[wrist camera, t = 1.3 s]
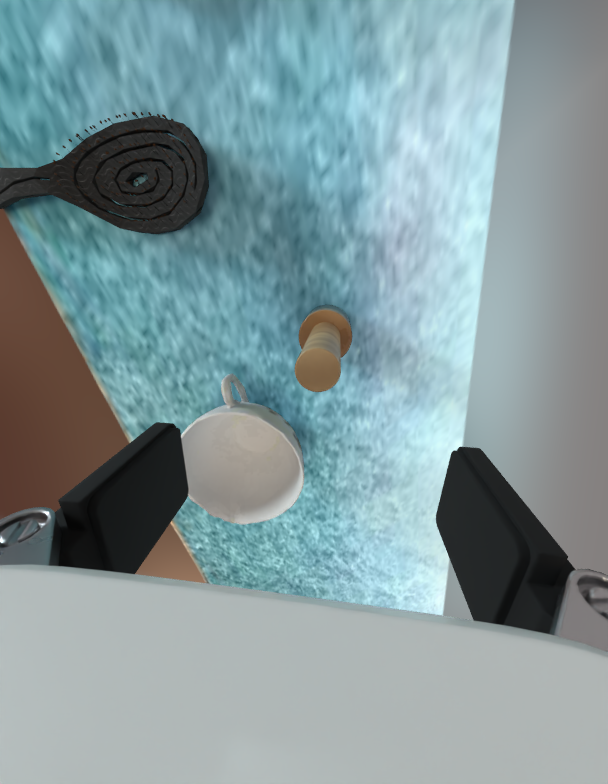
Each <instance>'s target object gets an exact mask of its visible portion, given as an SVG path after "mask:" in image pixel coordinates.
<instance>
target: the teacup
mask: <svg viewBox="0 0 608 784" xmlns="http://www.w3.org/2000/svg"><path fill="white" fill-rule="evenodd" d="M231 381H232V382H233V383H234V385H235V386H236V388H237V390H238V393H239V394H240V396H241V399H242V401H241V402H239V401H237V400H234V398H233V395H232V391H231ZM221 392H222V395H223V399H224V402H225V403H226V405H223V406H220V407H217V408H215V409H213V410H211V411H209V412H207V413H205V414H204V415H202V416H200V417H199V418H198V419H196V420H195V421H194V422H193V423H192V424H190V425H189V426H188V427H187V428H186V430H185V431H184V432H183V434H182V435H181V440H182V447H183V454H184V460H185V467H186V474H187V481H188V488H189V492H188V496H189V497H190V499H191V500H192V501H193V502H195V503H197V504H199V506H200V507H202V508H203V509H205V510H206V511H207V512H208V513H209V514H210V515H212V516H214V517H220V518H221V519H223V520H224V521H228V522H231V523H239V524H248V523H256V522H262V521H266V520H269V519H272V518H275V517H277V516H279V515H280V514H282V513H284V512H285V511H286V510H287V509H289V508H290V507H292V506H293V505H294V503H295V502H296V500H297V499H298V497H299V495H300V493H301V490H302V488H303V484H304V462H303V454H302V450H301V446H300V443H299V440H298V438H297V436H296V434H295V432H294V430H293V429H292V427H291V426H290V425H289V424H288V422H287V421H286V420H285V419H284V418H283V417H282V416H280V415H279V414H278V413H277V412H275V411H273V410H272V409H270V408H268V407H265V406H263V405H260V404H255V403H250V402H249V401H248V398H247V395H246V391H245V388H244V386H243V385H242V383H241V382H240V381H239V380H238V379H237V377H236V376H235V375H234V374H229V375H227V376H226V377H225V378H223V379H222V384H221Z"/></svg>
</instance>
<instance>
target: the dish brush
mask: <svg viewBox="0 0 608 784" xmlns="http://www.w3.org/2000/svg"><path fill="white" fill-rule="evenodd" d="M351 342H352V331H351V326H350V321H349V319H348V317H347V315H346V313H345V312H344V311H343V310H341V309H340V308H338V307H336V306H333V305H322V306H319V307H317V308H315V309H314V310H312V311H311V312H310V314H309V315H308V316H307V317H306V319H305V320H304V321H303V323H302V325H301V327H300V330H299V343H300V346H301V348H302V351H301V353H300V355H299V357H298V359H297V361H296V364H295V375H296V378H297V380H298V382H299V383H300V384H301V385H302V386H303V387H304V388H306V389H308V390H310V391H314V392H322V391H326V390H328V389H330V388H332V387H333V386H334V385H335V384H336V383H337V381H338V380H339V377H340V373H341V358H342V357H343V356H344V355H345V354H346V353H347V351H348V350H349V348H350V345H351Z"/></svg>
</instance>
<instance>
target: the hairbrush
mask: <svg viewBox="0 0 608 784" xmlns="http://www.w3.org/2000/svg"><path fill="white" fill-rule="evenodd" d="M148 113H149V115H150V116H149V117H144V118H138V119H134V120H129V121H124V122H119V123H114V124H112V125H110V126H109V127H107V128H105V129H103V130H101V131H99V132H97V133H95V134H93V135H92V136H90V137H88V138H86V139H85V140H84V141H83V142H81V143H80V144H79V145H78V146H77V147H76V148H74V149H73V150H72V151H71V152H70V151H69V150H68V151H69V152H70V153H69V154H67V155H66V156H65V157H64V158H63V157H62V158H63V159H61V160H58V161H55V160H54V162H52V163H50V164H47V165H44V166H41V167H38V168H0V209H2V208H5V207H7V206H9V205H11V204H13V203H15V202H17V201H19V200H21V199H24V198H31V197H39V196H46V195H54V196H56V197H58V198H60V199H63V200H65V201H67V202H69V203H72V204H74V205H76V206H78V207H80V208H82V209H84V210H86V211H88V212H90V213H92V214H94V215H96V216H98V217H99V218H101V219H103V220H105V221H107V222H109V223H111V224H113V225H115V226H117V227H119V228H122V229H127V230H132V231H137V232H142V233H151V234H160V233H165V232H170V231H175V230H179V229H181V228H182V227H184V226H185V225H186V224H188V223H189V222H190V221H191V220H192V219H194V218H195V217H196V216H197V215H199V214H200V213H201V210H202V207H203V203H204V200H205V197H206V194H207V191H208V187H209V182H208V168H207V155H206V153H205V151H204V149H203V148H202V146H201V144H200V142H199V140H198V139H197V137H196V136H195V135H194V134H193V132H192V131H191V130H190V129H189V128H188V127H186V126H185V125H184V124H182V123H179V122H175V121H173V119H172V118H171V120H168V119H167V118H166V116H165V115H162V116H163V117H164V118H166V119H164V118H161V117H160V116H159V115H158V114H157V116H158V117H157V116H151V114H150V112H148ZM132 114H133V115H136V114H135V112H132ZM124 115H125V116H126V114H124ZM141 115H143V113H142V112H141ZM136 116H137V115H136ZM136 116H135V117H136ZM116 117H117V118H118V116H116ZM119 117H121V116H120V115H119ZM126 117H127V116H126ZM137 117H138V116H137ZM137 117H136V118H137ZM108 120H109V121H111V120H110V119H109V118H108ZM104 121H105V122H107V121H106V120H104ZM100 123H101V124H102V122H101V121H100ZM93 127H94V128H95V126H93ZM90 128H91V129H93V128H92V127H91V126H90ZM85 131H86V132H88V131H87V130H86V129H85ZM164 133H170V134H172V135H174V136H176V137H178V138H180V139H181V140H183V141H184V142H185V144H186V146H187V147H188V148H187V147H186V146H185V145H184V143H183V142H181V141H179V140H178V139H176V138H174V137H171V136H169V135H168V134H164ZM78 136H79V135H78V134H77V135H76V137H78ZM79 137H80V136H79ZM79 137H78V138H79ZM80 138H81V137H80ZM80 138H79V139H80ZM81 139H82V138H81ZM81 139H80V140H81ZM82 140H83V139H82ZM82 140H81V141H82ZM69 141H71V140H70V139H69ZM71 142H72V141H71ZM159 145H161V146H164V147H167V148H170V149H173V150H175V151H176V152H178V153H179V154H180V155H181V156H183V157H184V158H182V157H181V156H179V155H177V154H176V153H175V152H173V151H170V150H168V149H165V148H162V147H160V146H159ZM63 147H64V146H63ZM64 148H66V147H64ZM188 149H189V150H188ZM56 154H58V153H56ZM58 155H60V154H58ZM153 161H165V162H166V163H167V164H168V165H169V166H167V165H165V164H164V163H162V162H153ZM170 167H171V168H172V169H173V170H172V169H171V168H170ZM141 174H147V175H148V180H146V179H145V180H146V181H145V182H143V183H142V184H139V183H138V182H137V181H138V180H135V182H137V183H138V184H139V186H137V187H134V186H133V179H134V178H136V177H138V176H139V175H141ZM141 176H142V175H141ZM142 177H143V176H142ZM40 179H50V180H40ZM127 193H131V195H133V194H135V195H137V196H130V195H129V194H127ZM110 198H111V199H112V200H114V201H116V202H117V203H119V204H124V205H128V206H132V207H126V206H121V205H117V204H115V203H114V202H113V201H112V200H111V199H110ZM134 206H135V207H134ZM137 206H144V207H145V206H148V207H146V208H143V207H137ZM105 209H106V210H109V211H111V212H114V213H117V214H120V215H122V216H125V217H130V218H136V219H144V220H143V221H138V220H130V219H127V218H124V217H121V216H118V215H115V214H112V213H109V212H108V211H106V210H105ZM156 218H158V219H156ZM152 219H154V220H152ZM145 220H148V221H145ZM149 220H151V221H149Z"/></svg>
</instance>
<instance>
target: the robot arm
mask: <svg viewBox="0 0 608 784" xmlns="http://www.w3.org/2000/svg"><path fill="white" fill-rule="evenodd" d="M188 492H189V488H188V481H187V474H186V467H185V460H184V454H183V447H182V440H181V433H180V430H179V429H178V428H176V426H175V425H174V424H171V423H159V422H158V423H155V424H153V425H152V426H151V427H150V428H148V429H147V430H146V431H145V432H143V433H142V434H141V435H140V436H138V437H137V438H136V439H135V440H133V441H132V442H131V443H130V444H128V445H127V446H126V447H125V448H123V449H122V450H121V451H120V452H118V453H117V454H116V455H114V456H113V457H112V458H111V459H109V460H108V461H107V462H106V463H104V464H103V465H102V466H101V467H99V468H98V469H97V470H96V471H94V472H93V473H92V474H91V475H89V476H88V477H87V478H86V479H84V480H83V481H82V482H81V483H79V484H78V485H77V486H75V487H74V488H73V489H72V490H70V491H69V492H68V493H67V494H65V495H64V496H63V497H62V498H60V499H59V504H60V506H61V508H60V509H59V510H57V511H56V512H54V511H53V510H51V509H50V508H45V507H39V508H38V507H37V508H30V509H26V510H22V511H19V512H17V513H14V514H11V515H9V516H7V517H5V518H3V519H1V520H0V784H608V575H606V574H603V573H601V572H597V571H593V570H590V569H577V570H575V568H574V567H573V566H572V565H571V563H570V562H569V561H568V560H567V558H568V556H567V555H566V553H565V552H564V551H563V550H562V549H561V547H560V546H559V545H558V544H557V542H556V541H555V540H554V539H553V537H552V536H551V535H550V534H549V532H548V531H547V530H546V529H545V528H544V526H543V525H542V524H541V523H540V522H539V520H538V519H537V518H536V516H535V515H534V514H533V513H532V512H531V510H530V509H529V508H528V507H527V505H526V504H525V503H524V502H523V501H522V499H521V498H520V497H519V496H518V494H517V493H516V492H515V491H514V489H513V488H512V487H511V486H510V484H509V483H508V482H507V481H506V480H505V478H504V477H503V476H502V475H501V473H500V472H499V471H498V470H497V468H496V467H495V466H494V465H493V464H492V463H491V461H490V460H489V459H488V457H487V456H486V455H485V454H484V452H483V451H482V450H481V449H479V448H470V447H459V448H458V450H457V451H453V452H452V454H451V457H450V461H449V465H448V469H447V473H446V477H445V481H444V485H443V489H442V494H441V498H440V502H439V506H438V510H437V514H436V523H437V527H438V529H439V532H440V535H441V537H442V540H443V542H444V545H445V547H446V550H447V553H448V555H449V558H450V560H451V563H452V565H453V568H454V571H455V573H456V576H457V578H458V581H459V584H460V586H461V589H462V591H463V594H464V596H465V599H466V601H467V604H468V607H469V609H470V612H471V615H472V617H473V619H474V621H473V620H467V619H460V618H454V617H448V616H441V615H435V614H428V613H420V612H413V611H406V610H399V609H392V608H385V607H377V606H370V605H363V604H356V603H349V602H342V601H334V600H327V599H320V598H312V597H305V596H297V595H290V594H282V593H275V592H268V591H260V590H252V589H245V588H237V587H230V586H222V585H215V584H207V583H198V582H191V581H183V580H175V579H168V578H160V577H152V576H144V575H136V574H135V573H136V571H137V570H138V569H139V567H140V566H141V564H142V562H143V561H144V560H145V558H146V557H147V555H148V554H149V552H150V551H151V549H152V548H153V547H154V545H155V544H156V542H157V541H158V540H159V538H160V537H161V535H162V534H163V532H164V531H165V529H166V528H167V527H168V525H169V524H170V522H171V521H172V519H173V518H174V516H175V515H176V513H177V512H178V511H179V509H180V508H181V506H182V505H183V503H184V502H185V500H186V499H187V496H188Z"/></svg>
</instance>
